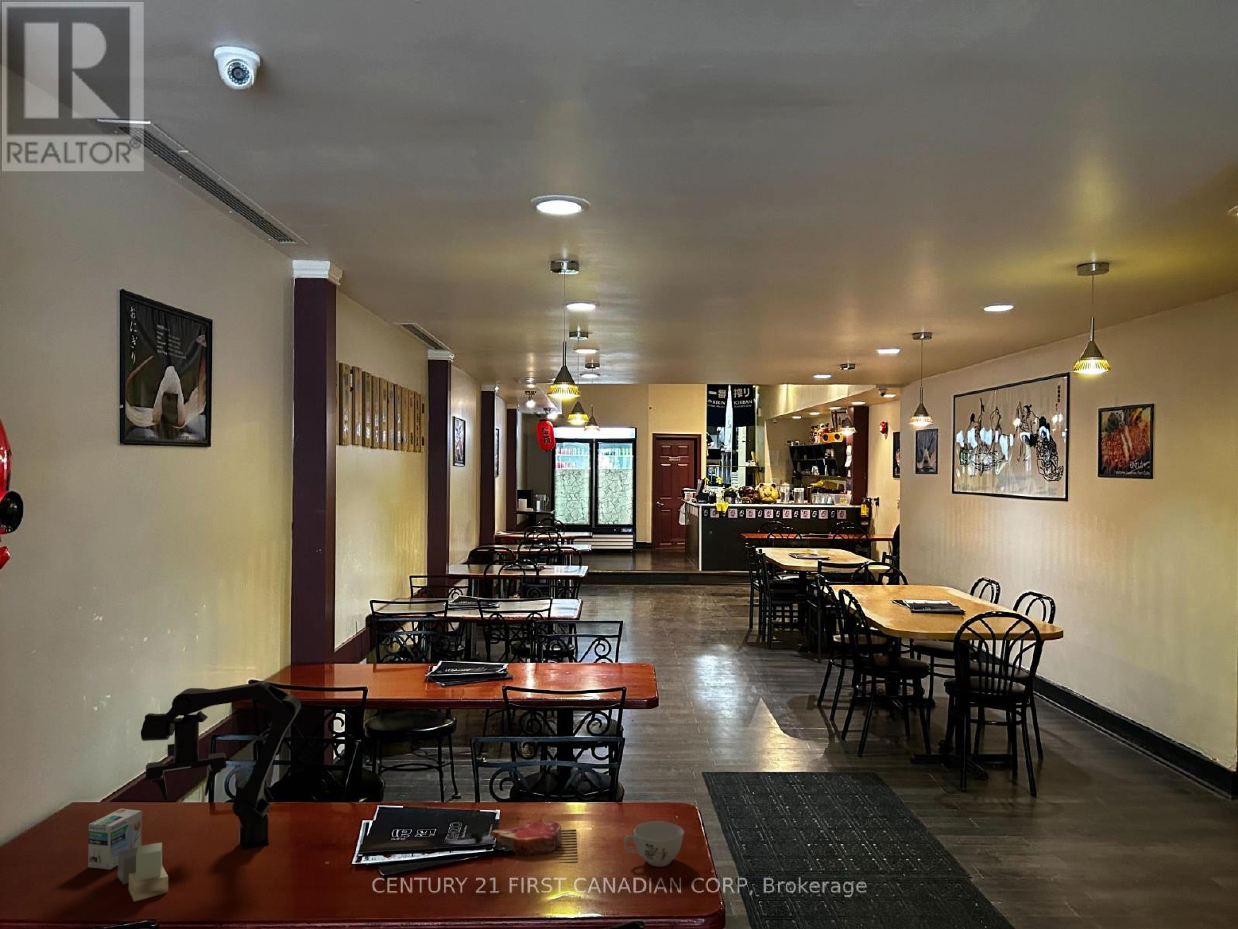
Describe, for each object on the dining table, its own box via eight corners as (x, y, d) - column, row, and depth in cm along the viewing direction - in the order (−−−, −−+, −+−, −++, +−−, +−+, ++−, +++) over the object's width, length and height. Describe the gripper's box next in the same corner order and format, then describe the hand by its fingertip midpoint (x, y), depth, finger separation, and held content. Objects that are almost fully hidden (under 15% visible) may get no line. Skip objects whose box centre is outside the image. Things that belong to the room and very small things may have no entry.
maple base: (162, 882, 203) (162, 865, 203) (168, 893, 198) (168, 876, 198) (128, 891, 199) (128, 874, 199) (133, 903, 194) (133, 885, 194)
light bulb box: (110, 870, 209) (110, 826, 209) (86, 868, 210) (87, 824, 210) (142, 852, 219) (143, 809, 220) (120, 849, 221) (120, 807, 221)
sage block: (161, 868, 202) (162, 842, 202) (160, 876, 198) (160, 851, 198) (137, 872, 200) (138, 846, 200) (135, 881, 196) (136, 854, 196)
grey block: (140, 870, 209) (140, 846, 209) (146, 877, 205) (146, 852, 205) (117, 877, 205) (118, 852, 205) (123, 884, 202) (123, 859, 202)
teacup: (679, 850, 220) (679, 819, 220) (687, 872, 208) (687, 839, 208) (621, 852, 219) (622, 820, 219) (626, 874, 207) (626, 841, 207)
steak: (576, 831, 233) (576, 811, 234) (577, 866, 213) (577, 844, 213) (484, 834, 232) (484, 814, 232) (477, 870, 211) (477, 847, 211)
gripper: (223, 725, 234) (222, 782, 234) (145, 736, 225) (145, 795, 225) (226, 736, 224) (226, 796, 224) (145, 747, 215) (145, 809, 215)
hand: (186, 798), depth 222 cm, fingers open, 9 cm apart
